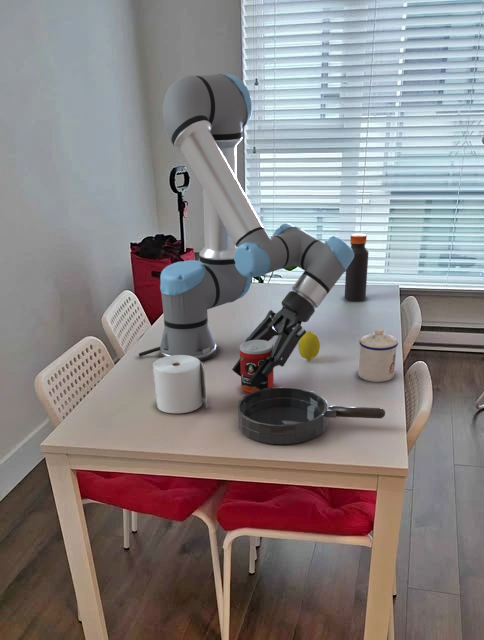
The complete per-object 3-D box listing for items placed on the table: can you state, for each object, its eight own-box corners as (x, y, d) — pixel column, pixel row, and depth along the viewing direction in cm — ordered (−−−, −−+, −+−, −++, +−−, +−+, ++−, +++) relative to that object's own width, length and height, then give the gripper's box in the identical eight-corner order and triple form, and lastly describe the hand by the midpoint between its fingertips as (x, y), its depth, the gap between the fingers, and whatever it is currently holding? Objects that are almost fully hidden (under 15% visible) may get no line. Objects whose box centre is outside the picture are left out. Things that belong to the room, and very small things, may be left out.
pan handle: (324, 418, 141) (324, 409, 140) (325, 412, 144) (325, 403, 143) (385, 421, 139) (385, 411, 138) (384, 415, 142) (385, 405, 141)
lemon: (318, 365, 173) (319, 335, 169) (296, 364, 174) (297, 334, 170) (320, 357, 178) (321, 327, 173) (299, 356, 179) (299, 327, 174)
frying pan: (230, 443, 139) (229, 423, 136) (245, 403, 155) (244, 385, 152) (324, 447, 136) (325, 428, 133) (328, 406, 152) (329, 388, 149)
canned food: (236, 393, 160) (234, 349, 154) (248, 380, 166) (247, 337, 160) (266, 397, 157) (266, 353, 151) (277, 384, 163) (277, 341, 158)
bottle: (344, 301, 218) (347, 237, 207) (344, 295, 223) (347, 232, 213) (365, 302, 217) (369, 237, 206) (365, 295, 222) (369, 232, 212)
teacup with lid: (397, 382, 162) (402, 335, 156) (359, 383, 162) (362, 336, 156) (389, 363, 172) (393, 319, 166) (353, 364, 173) (356, 320, 166)
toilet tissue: (159, 394, 160) (155, 355, 155) (210, 393, 160) (207, 354, 155) (153, 414, 151) (149, 373, 146) (206, 413, 151) (204, 372, 146)
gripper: (338, 320, 151) (276, 402, 153) (289, 298, 166) (234, 372, 169) (318, 301, 146) (255, 385, 148) (271, 280, 162) (214, 357, 164)
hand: (244, 378), depth 158 cm, fingers closed on canned food, 8 cm apart
